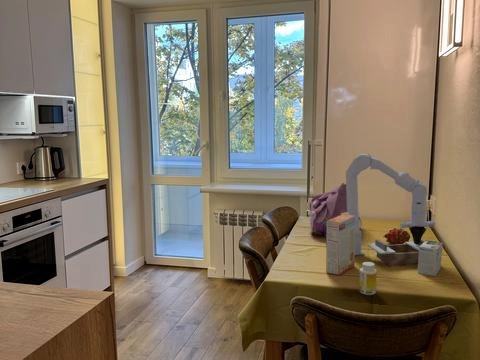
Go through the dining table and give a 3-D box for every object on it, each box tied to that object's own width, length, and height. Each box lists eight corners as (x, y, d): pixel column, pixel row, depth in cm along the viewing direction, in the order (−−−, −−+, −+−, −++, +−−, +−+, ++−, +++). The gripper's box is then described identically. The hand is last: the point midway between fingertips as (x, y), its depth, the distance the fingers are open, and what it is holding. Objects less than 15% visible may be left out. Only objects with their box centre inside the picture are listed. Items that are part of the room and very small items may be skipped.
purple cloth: (350, 251, 210) (364, 196, 202) (302, 239, 214) (314, 185, 206) (348, 226, 243) (361, 178, 235) (307, 216, 247) (317, 169, 239)
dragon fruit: (412, 249, 201) (385, 251, 204) (409, 235, 207) (383, 236, 210) (411, 238, 195) (383, 239, 199) (409, 223, 201) (382, 225, 205)
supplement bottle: (378, 292, 149) (380, 263, 148) (371, 297, 145) (372, 267, 144) (363, 287, 153) (364, 259, 151) (356, 292, 149) (357, 263, 147)
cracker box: (341, 263, 179) (342, 213, 176) (354, 266, 175) (356, 215, 172) (324, 272, 168) (325, 220, 165) (339, 276, 164) (340, 222, 161)
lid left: (379, 254, 173) (380, 246, 173) (366, 245, 185) (367, 238, 184) (395, 253, 174) (395, 245, 173) (381, 244, 186) (382, 237, 185)
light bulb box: (423, 265, 175) (424, 239, 174) (441, 268, 172) (443, 242, 170) (417, 273, 167) (418, 246, 165) (435, 276, 163) (437, 249, 161)
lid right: (420, 251, 175) (420, 244, 175) (405, 243, 187) (405, 236, 187) (435, 250, 176) (436, 243, 176) (419, 242, 188) (420, 235, 188)
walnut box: (390, 266, 174) (390, 254, 174) (376, 256, 186) (377, 245, 185) (422, 264, 176) (423, 252, 176) (407, 254, 188) (407, 243, 187)
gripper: (406, 215, 174) (405, 247, 176) (440, 213, 176) (438, 245, 178) (398, 211, 181) (396, 242, 183) (430, 209, 183) (428, 241, 185)
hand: (416, 243), depth 181 cm, fingers closed
